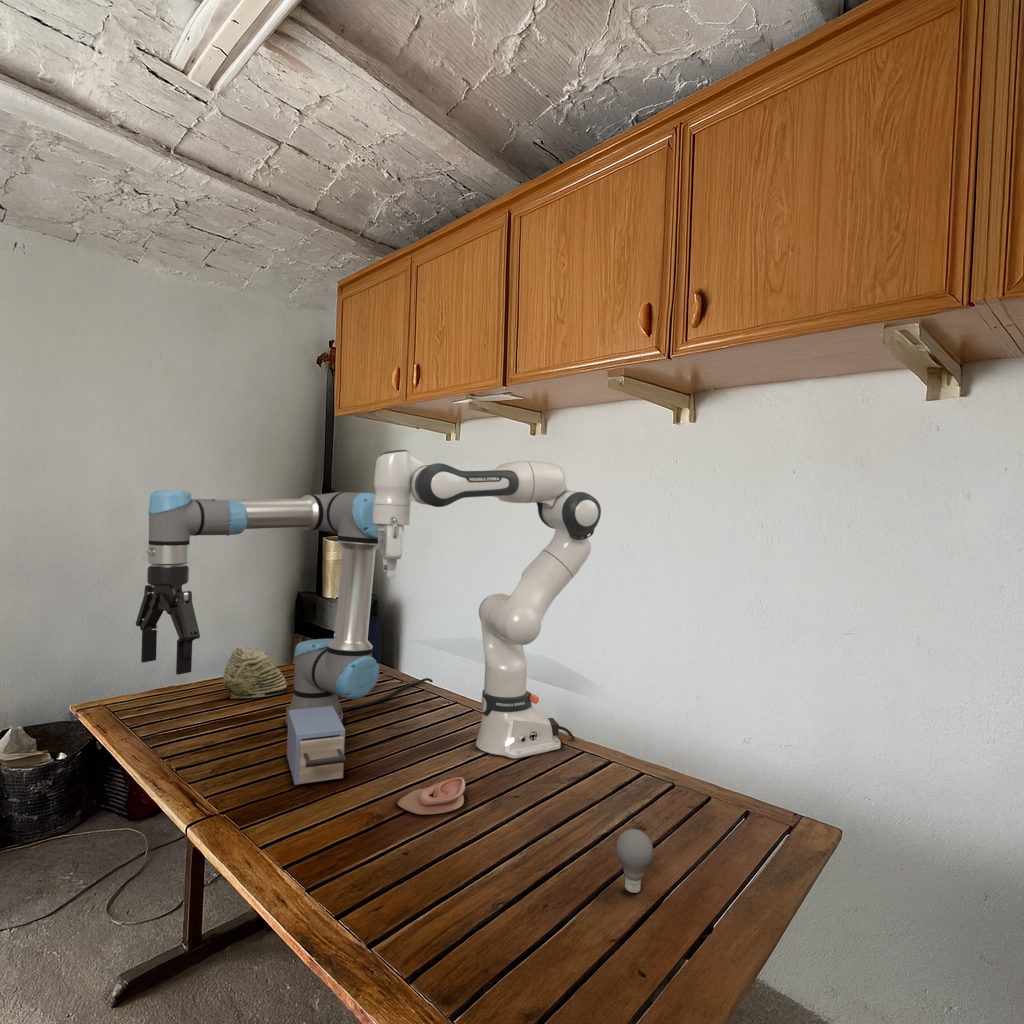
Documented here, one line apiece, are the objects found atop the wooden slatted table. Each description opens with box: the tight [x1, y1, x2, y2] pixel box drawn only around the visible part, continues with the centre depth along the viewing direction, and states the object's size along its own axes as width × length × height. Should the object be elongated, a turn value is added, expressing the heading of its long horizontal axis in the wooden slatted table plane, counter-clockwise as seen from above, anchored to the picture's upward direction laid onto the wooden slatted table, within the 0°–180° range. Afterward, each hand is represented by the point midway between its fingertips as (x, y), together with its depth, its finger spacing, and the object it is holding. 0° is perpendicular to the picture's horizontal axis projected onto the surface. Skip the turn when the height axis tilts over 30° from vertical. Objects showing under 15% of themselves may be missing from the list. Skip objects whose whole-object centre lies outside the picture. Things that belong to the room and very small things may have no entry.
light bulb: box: [615, 828, 654, 894], centre depth 106 cm, size 6×6×10 cm
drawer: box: [298, 735, 347, 785], centre depth 143 cm, size 22×9×9 cm, turn 25°
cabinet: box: [286, 706, 346, 786], centre depth 148 cm, size 17×10×11 cm, turn 25°
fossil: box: [222, 646, 288, 699], centre depth 198 cm, size 9×18×15 cm, turn 132°
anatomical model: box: [397, 776, 466, 816], centre depth 133 cm, size 13×4×12 cm
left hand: (165, 667), depth 131 cm, fingers open, 13 cm apart
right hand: (388, 574), depth 152 cm, fingers open, 8 cm apart
